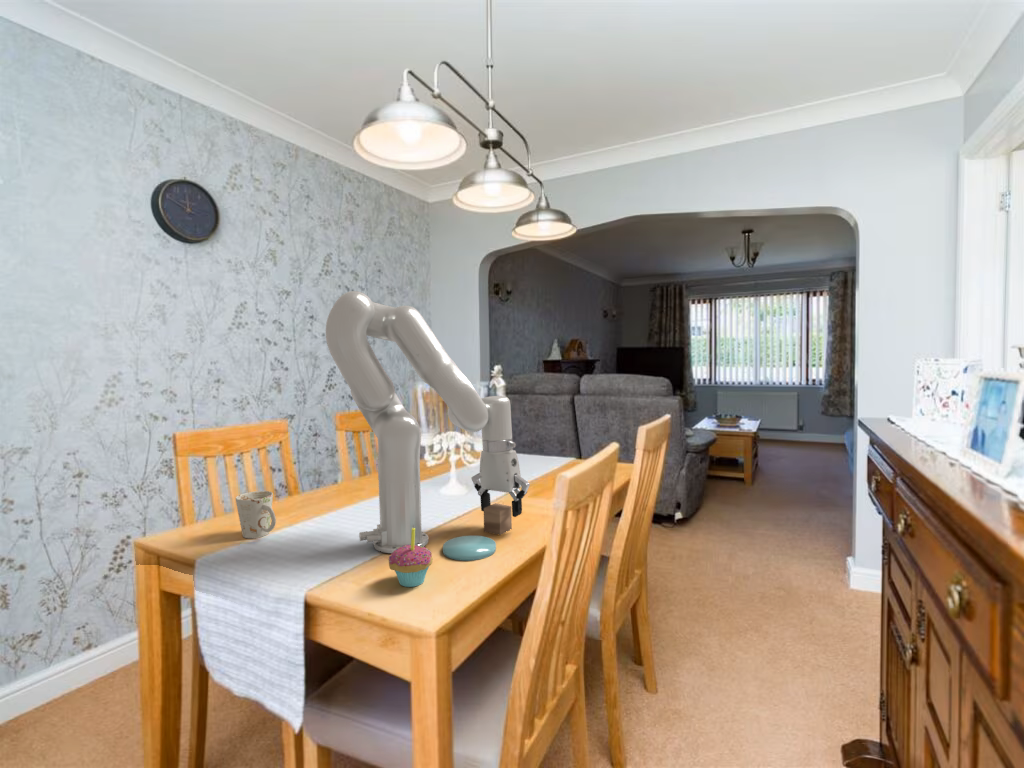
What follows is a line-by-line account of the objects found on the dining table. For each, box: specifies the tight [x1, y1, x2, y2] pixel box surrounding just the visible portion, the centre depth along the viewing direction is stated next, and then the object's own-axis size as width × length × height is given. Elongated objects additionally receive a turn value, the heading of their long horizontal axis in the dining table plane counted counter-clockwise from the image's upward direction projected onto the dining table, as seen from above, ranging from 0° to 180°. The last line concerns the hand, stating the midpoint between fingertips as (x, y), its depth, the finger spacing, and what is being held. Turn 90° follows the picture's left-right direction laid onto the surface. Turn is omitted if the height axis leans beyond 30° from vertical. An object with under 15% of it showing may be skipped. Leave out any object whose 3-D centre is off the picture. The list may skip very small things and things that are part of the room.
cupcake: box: [388, 525, 434, 588], centre depth 100 cm, size 9×8×12 cm
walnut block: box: [483, 503, 513, 536], centre depth 129 cm, size 5×5×6 cm
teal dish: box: [442, 535, 497, 562], centre depth 116 cm, size 12×12×1 cm
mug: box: [235, 490, 277, 539], centre depth 128 cm, size 8×13×10 cm, turn 60°
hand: (501, 512), depth 129 cm, fingers open, 9 cm apart
